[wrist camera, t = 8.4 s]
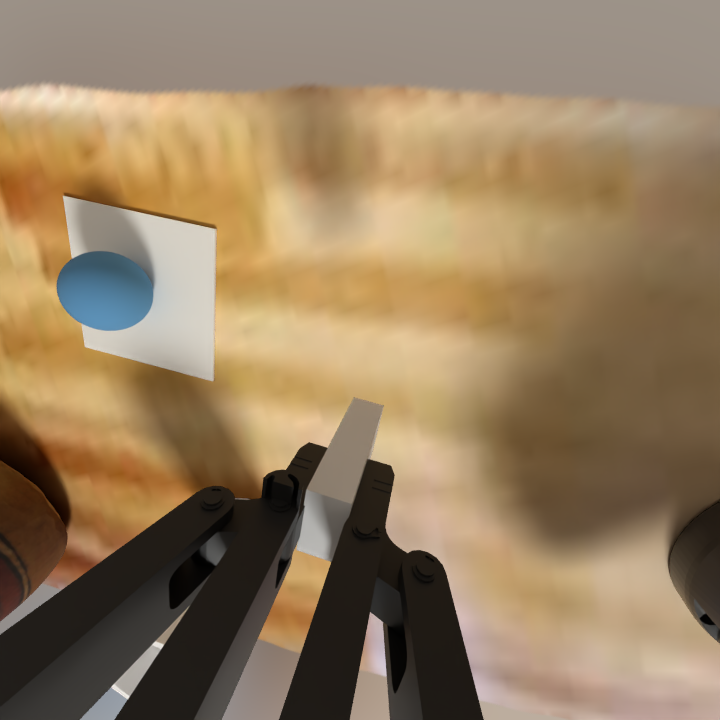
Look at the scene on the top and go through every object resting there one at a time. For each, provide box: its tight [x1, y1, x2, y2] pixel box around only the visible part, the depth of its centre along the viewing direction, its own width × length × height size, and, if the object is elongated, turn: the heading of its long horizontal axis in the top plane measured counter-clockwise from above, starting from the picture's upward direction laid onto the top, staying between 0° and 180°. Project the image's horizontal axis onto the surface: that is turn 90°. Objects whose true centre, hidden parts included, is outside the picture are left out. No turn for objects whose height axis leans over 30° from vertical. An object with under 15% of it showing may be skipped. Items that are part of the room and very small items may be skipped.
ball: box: [57, 251, 153, 331], centre depth 25 cm, size 6×6×6 cm
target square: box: [63, 196, 217, 381], centre depth 27 cm, size 12×12×1 cm
